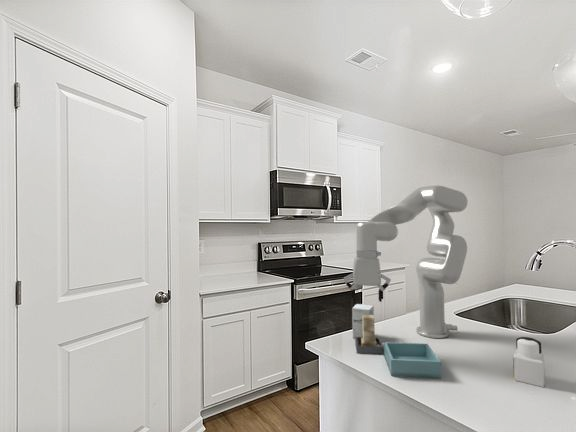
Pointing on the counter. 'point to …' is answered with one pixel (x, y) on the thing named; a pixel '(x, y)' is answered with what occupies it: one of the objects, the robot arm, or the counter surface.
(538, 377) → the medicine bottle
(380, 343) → the collar
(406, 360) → the bin
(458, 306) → the counter surface
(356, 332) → the supplement box
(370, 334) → the strut
